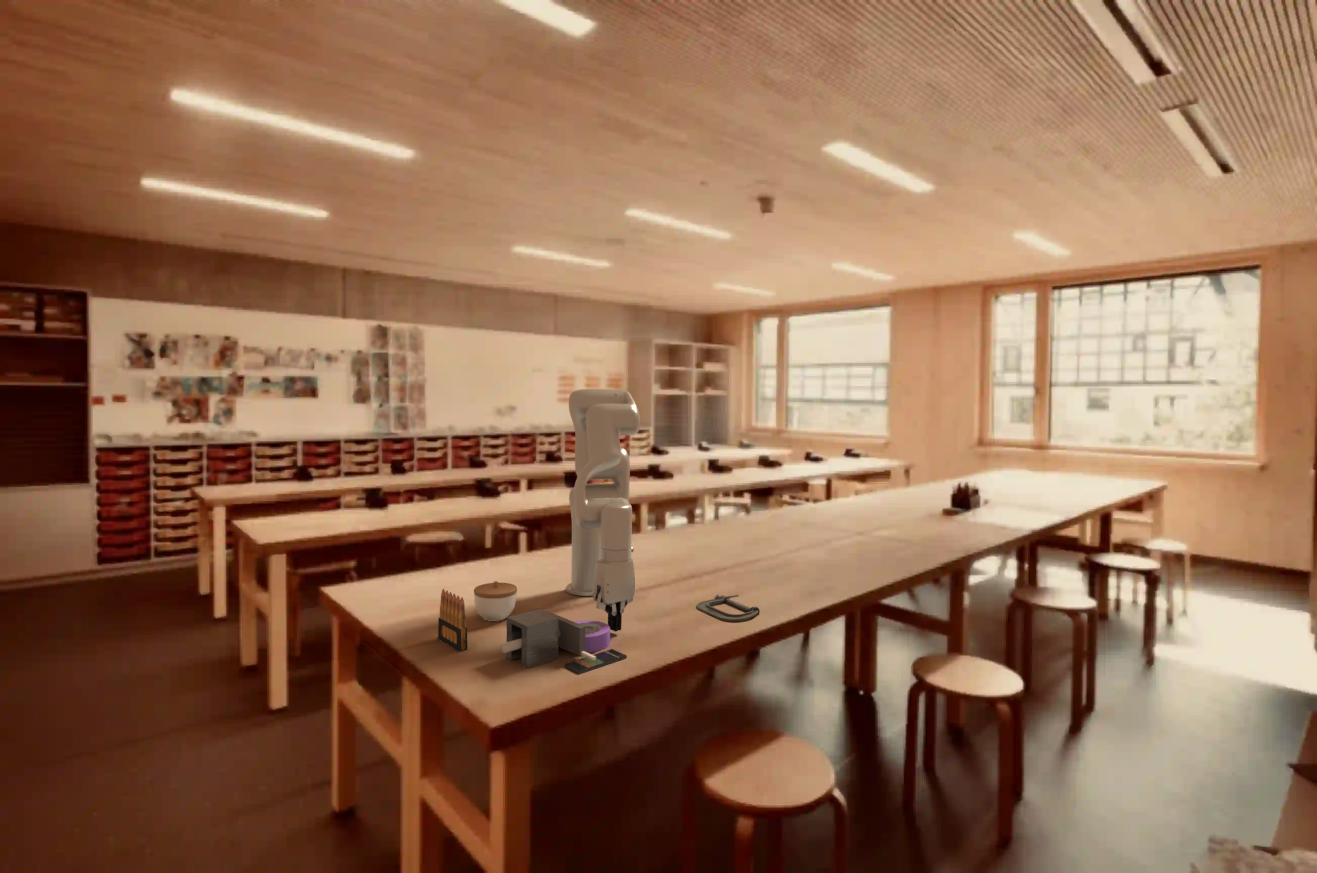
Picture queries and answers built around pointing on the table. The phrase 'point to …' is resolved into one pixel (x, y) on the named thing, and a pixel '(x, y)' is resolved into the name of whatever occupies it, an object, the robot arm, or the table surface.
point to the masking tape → (595, 635)
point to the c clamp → (724, 616)
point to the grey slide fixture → (547, 642)
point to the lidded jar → (495, 600)
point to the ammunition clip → (452, 621)
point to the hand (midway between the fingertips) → (614, 629)
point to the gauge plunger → (560, 638)
